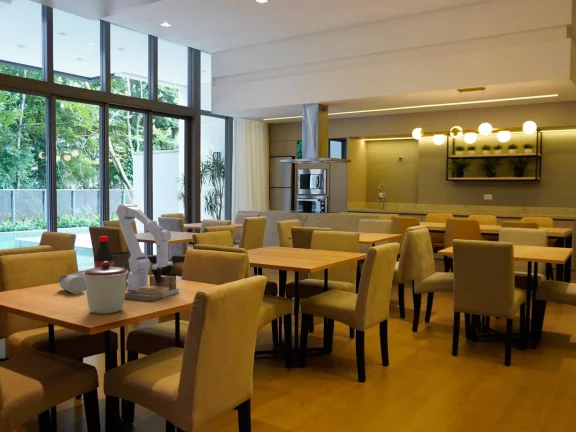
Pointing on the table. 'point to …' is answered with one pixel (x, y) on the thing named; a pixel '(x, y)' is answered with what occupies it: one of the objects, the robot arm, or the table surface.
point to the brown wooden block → (164, 281)
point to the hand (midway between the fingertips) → (162, 281)
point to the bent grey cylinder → (73, 282)
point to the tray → (142, 296)
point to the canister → (105, 288)
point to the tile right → (159, 289)
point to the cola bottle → (103, 253)
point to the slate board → (158, 293)
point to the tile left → (146, 288)
